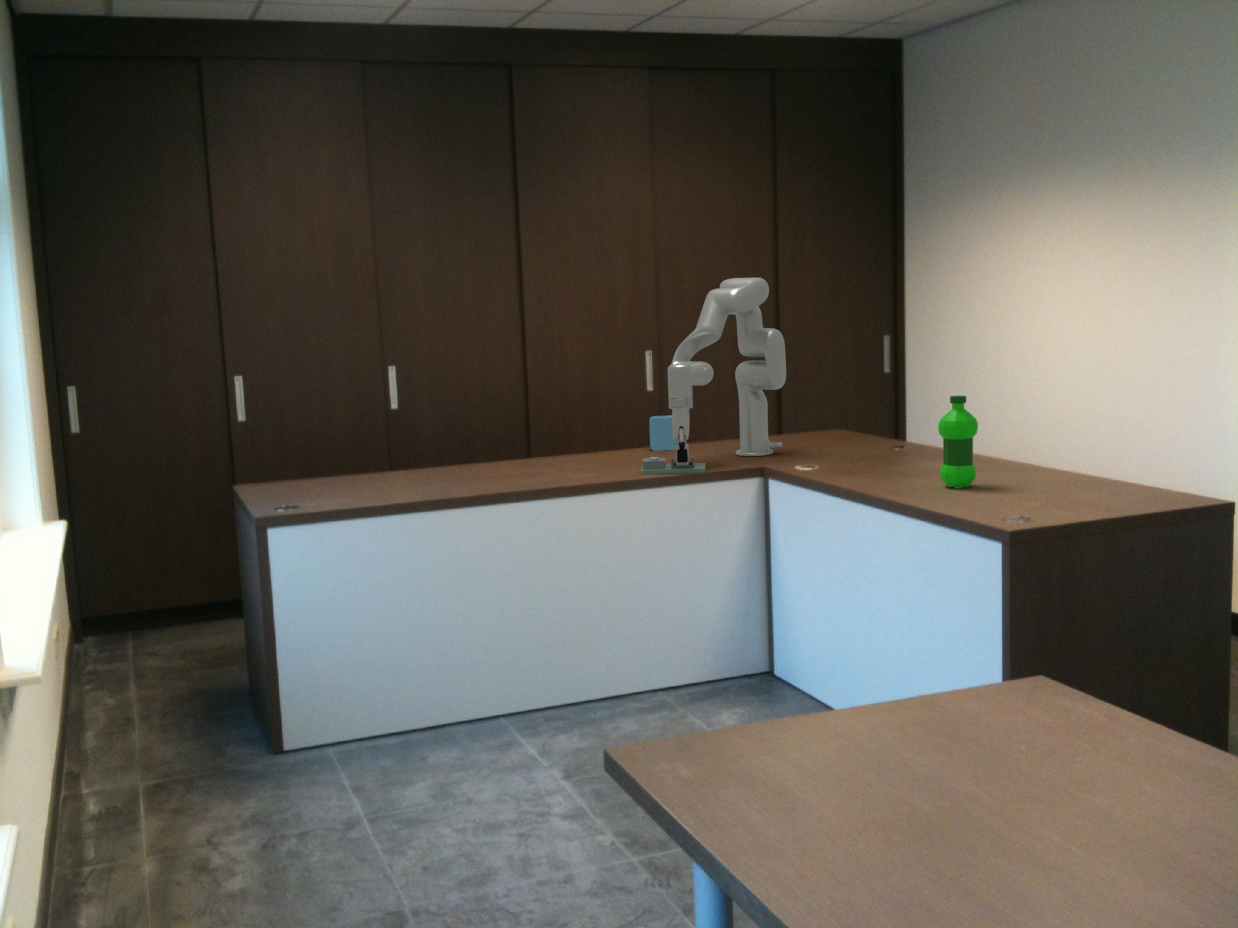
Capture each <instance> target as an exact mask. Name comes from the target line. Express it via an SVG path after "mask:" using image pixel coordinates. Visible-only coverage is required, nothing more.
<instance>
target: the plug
mask: <svg viewBox="0 0 1238 928" xmlns="http://www.w3.org/2000/svg"><path fill="white" fill-rule="evenodd" d="M686 449H687V457H688V462H680V463H678V462H677V450H678V444H676V450H675V463H676V465H689V462H690V453H689V451H690V450H689V443H687V442H686ZM679 450H680V449H679Z"/></svg>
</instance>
